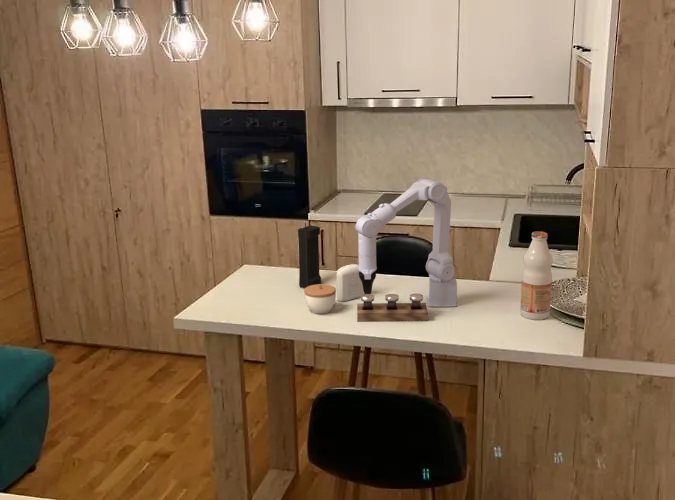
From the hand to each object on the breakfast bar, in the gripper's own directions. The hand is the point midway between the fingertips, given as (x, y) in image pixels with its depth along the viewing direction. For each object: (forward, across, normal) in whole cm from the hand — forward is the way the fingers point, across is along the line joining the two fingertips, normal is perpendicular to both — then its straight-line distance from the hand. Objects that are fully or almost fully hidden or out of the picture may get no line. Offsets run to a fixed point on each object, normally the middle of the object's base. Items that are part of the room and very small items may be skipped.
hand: (367, 293), depth 238 cm
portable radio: (+8, -32, -21) cm, 39 cm away
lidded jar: (+8, -6, -16) cm, 19 cm away
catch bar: (+8, 0, +8) cm, 11 cm away
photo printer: (+8, -18, -6) cm, 21 cm away
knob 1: (+5, 0, 0) cm, 5 cm away
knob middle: (+5, 0, +8) cm, 10 cm away
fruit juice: (+8, 0, +55) cm, 56 cm away
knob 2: (+5, 0, +16) cm, 17 cm away
